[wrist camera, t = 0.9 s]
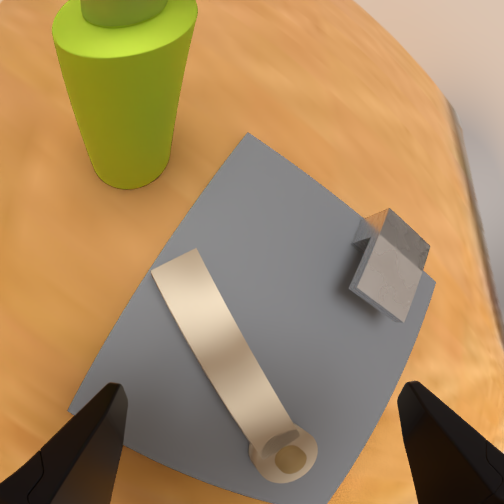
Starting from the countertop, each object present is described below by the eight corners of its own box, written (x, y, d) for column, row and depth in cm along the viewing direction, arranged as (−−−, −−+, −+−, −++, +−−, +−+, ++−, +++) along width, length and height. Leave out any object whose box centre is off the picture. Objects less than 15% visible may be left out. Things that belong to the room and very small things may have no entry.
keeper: (369, 321, 24) (404, 322, 21) (324, 291, 24) (357, 287, 20) (396, 254, 26) (430, 246, 22) (357, 221, 26) (389, 208, 22)
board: (317, 510, 20) (319, 513, 20) (69, 408, 17) (67, 410, 16) (432, 282, 27) (435, 282, 27) (245, 135, 24) (247, 132, 23)
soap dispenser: (197, 153, 23) (317, -117, 4) (118, 205, 20) (66, -115, 1) (154, 100, 22) (205, -150, 3) (78, 145, 20) (21, -120, 1)
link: (312, 448, 21) (331, 462, 18) (265, 479, 19) (279, 497, 17) (201, 249, 21) (208, 240, 18) (141, 279, 19) (139, 275, 17)
